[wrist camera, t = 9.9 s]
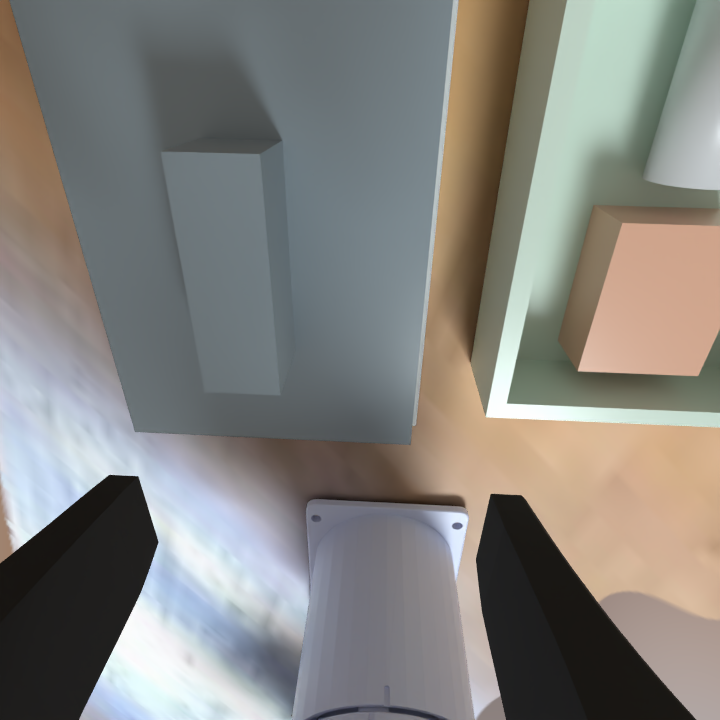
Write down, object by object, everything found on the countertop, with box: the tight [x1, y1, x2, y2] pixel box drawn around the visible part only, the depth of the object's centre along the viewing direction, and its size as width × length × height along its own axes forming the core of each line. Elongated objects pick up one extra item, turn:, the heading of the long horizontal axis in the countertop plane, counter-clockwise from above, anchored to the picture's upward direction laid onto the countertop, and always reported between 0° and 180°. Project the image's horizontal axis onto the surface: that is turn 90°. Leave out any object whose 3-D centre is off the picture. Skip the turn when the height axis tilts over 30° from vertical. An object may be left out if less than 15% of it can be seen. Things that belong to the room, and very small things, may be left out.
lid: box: [9, 0, 453, 445], centre depth 15 cm, size 15×11×4 cm
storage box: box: [471, 0, 720, 427], centre depth 14 cm, size 14×10×4 cm
